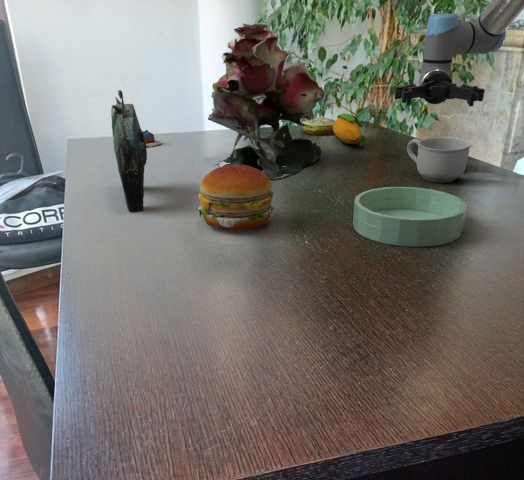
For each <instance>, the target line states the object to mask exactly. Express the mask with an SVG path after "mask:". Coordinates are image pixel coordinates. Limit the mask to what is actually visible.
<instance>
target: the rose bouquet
mask: <svg viewBox="0 0 524 480" xmlns="http://www.w3.org/2000/svg"><path fill="white" fill-rule="evenodd" d="M268 27H269V23H266V22H255V23H254V24H249V23H242V25H241V26H238V27H237V28H233V31H234V33H235V34H237V35H238V36H237V37H235V38H233V39H231V40H229V42H228V43H227V46H226V47H227V48H228V49H230V50H231V51H228V52H223V53H222V54H221V59H222V61H223V62H222V64H224V65H225V74H223V75H221V76H220V77H219V79H218V80H217V81H216V82H213V83H212V91H211V95H210V97H211V98H212V105H213V108H211V111H212V112H211V113H210V114H209V115H208V117H207V120H208V121H211V122H212V123H214V124H218V125H219V126H223V127H225V128H226V129H229V130H232V131H234V132H236V133H237V136H236V137H235V141H234V145H233V150H232V152H231V153H232V154H231V153H230V154H231V155H230V157H228V156H227V157H226V158H225V159H224V160H225V161H224V160H223V161H224V162H226V163H230V164H226V165H247V166H251V167H253V168H255V167H259V166H260V167H261V168H262V170H261V171H262V172H263V173H264V174H265V175H266V176H267V177H268V178H269V180H270V179H274V180H277V179H276V178H278V177H281V176H283V174H292V175H294V174H296V173H298V172H300V171H301V170H303V169H304V167H305V166H307V165H312V164H314V163H316V162H317V160H318V159H320V158H322V154H323V153H322V149H321V146H320V145H317V141H315V142H313V140H311V139H308V138H306V137H297V138H293V136H292V135H291V132H290V128H289V122H291V123H294V124H295V125H298V126H300V127H302V126H303V127H304V126H308V125H306V124H303V123H302V121H301V119H305V120H311V119H313V117H314V111H313V109H315V108H316V107H317V103H318V102H320V101H321V100H323V99H324V98H325V97H326V93H325V91H324V89H323V87H322V86H320V85H319V83H318V82H317V81H316V80H315V79H314V78H313V77H312V75H311V74H310V71H309V70H308V69H307V66H305V65H302V64H300V63H299V62H298V61H289V62H287V63H286V59H287V57H289V53H288V52H287V50H282V49H281V48H280V46H279V44H278V40H279V34H278V33H277V32H276V33H275V32H274V31H273V30H271V29H270V28H268ZM280 121H288V122H287V123H285V124H284V125H282V126H281V127H280V125H281V124H280ZM262 126H269V127H271V128H272V133H271V134H270V135H269V136H267V137H263V138H262V137H261V136H260V135H261V134H260V132H261V130H260V128H261V127H262ZM303 127H302V128H303ZM308 127H310V126H308ZM310 128H312V127H310ZM242 137H244V138H243V142H246V140H247V139H248V140H250V142H251V144H252V145H250V144H247V145H246V146H243V147H238V148H236V146H237V145H238V144H239V142H240V140H241V138H242ZM226 165H224V166H226ZM254 166H255V167H254ZM282 166H287V167H282Z"/></svg>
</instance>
